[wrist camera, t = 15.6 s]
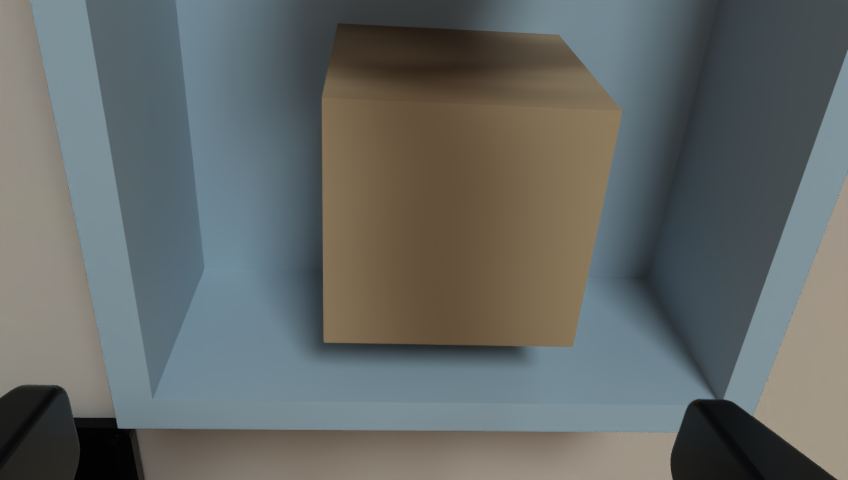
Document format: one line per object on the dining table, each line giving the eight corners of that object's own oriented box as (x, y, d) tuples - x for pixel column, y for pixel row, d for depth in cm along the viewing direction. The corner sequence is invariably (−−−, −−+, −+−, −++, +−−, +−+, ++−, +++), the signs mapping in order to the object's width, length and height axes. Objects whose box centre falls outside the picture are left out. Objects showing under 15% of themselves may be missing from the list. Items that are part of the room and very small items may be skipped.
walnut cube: (558, 35, 16) (622, 110, 12) (528, 226, 19) (572, 346, 15) (337, 23, 16) (321, 97, 12) (336, 220, 18) (323, 342, 14)
